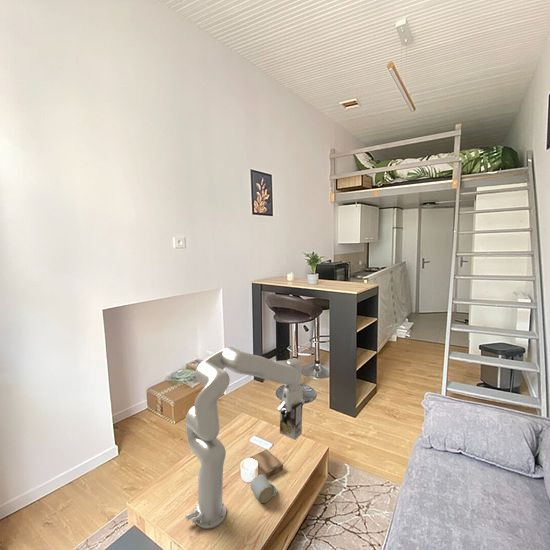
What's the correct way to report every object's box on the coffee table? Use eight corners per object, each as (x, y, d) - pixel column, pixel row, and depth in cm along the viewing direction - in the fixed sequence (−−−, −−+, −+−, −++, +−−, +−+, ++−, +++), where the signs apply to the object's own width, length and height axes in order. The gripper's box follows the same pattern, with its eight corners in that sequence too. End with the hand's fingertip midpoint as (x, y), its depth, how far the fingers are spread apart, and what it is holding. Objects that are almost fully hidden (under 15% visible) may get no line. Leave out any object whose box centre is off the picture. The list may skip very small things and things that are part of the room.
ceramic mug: (258, 507, 127) (259, 490, 126) (250, 493, 134) (250, 476, 133) (280, 498, 132) (281, 481, 131) (271, 484, 139) (272, 468, 138)
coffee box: (302, 433, 150) (303, 402, 148) (295, 440, 145) (296, 408, 143) (286, 426, 155) (287, 396, 153) (279, 433, 150) (279, 401, 148)
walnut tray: (266, 479, 142) (266, 472, 141) (250, 462, 152) (250, 457, 151) (282, 469, 148) (282, 463, 148) (266, 454, 158) (266, 449, 158)
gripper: (283, 393, 139) (282, 430, 141) (311, 383, 150) (309, 417, 151) (273, 386, 145) (272, 422, 146) (300, 377, 155) (299, 411, 157)
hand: (291, 419), depth 149 cm, fingers closed on coffee box, 7 cm apart
